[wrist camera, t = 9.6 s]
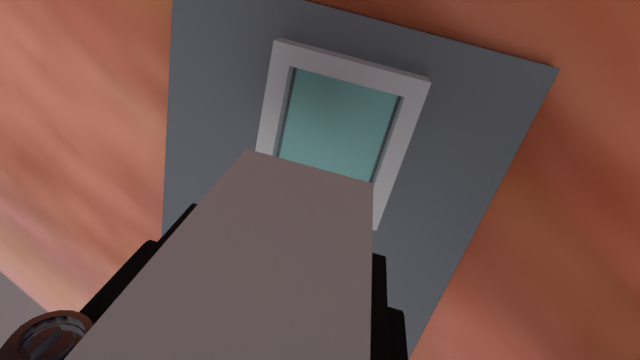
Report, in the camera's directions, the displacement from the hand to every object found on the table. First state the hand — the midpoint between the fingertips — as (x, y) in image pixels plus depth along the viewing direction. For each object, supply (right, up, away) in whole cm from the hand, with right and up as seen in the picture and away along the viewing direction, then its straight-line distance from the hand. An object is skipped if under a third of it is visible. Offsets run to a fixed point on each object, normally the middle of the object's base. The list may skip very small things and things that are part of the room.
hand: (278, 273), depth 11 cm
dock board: (+1, 0, +15) cm, 15 cm away
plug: (0, +1, +2) cm, 2 cm away
